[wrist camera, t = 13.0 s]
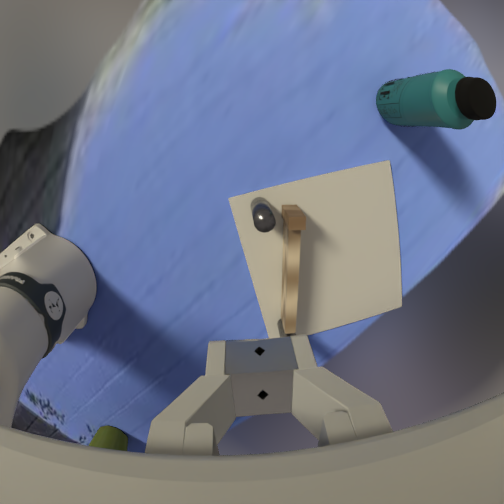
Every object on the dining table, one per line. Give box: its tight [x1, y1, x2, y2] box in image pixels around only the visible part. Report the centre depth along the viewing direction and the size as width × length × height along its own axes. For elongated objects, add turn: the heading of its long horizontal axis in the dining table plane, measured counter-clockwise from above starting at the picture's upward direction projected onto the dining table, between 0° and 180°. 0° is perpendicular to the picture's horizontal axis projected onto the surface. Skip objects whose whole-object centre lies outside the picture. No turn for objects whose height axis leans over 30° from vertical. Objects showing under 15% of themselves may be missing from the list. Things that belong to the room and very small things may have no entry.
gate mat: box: [229, 160, 402, 338], centre depth 46 cm, size 23×24×1 cm
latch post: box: [250, 197, 276, 233], centre depth 39 cm, size 2×2×8 cm
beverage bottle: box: [376, 69, 496, 129], centre depth 29 cm, size 6×7×20 cm
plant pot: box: [89, 426, 128, 451], centre depth 55 cm, size 12×12×11 cm
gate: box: [281, 205, 306, 334], centre depth 43 cm, size 17×2×6 cm, turn 1°
